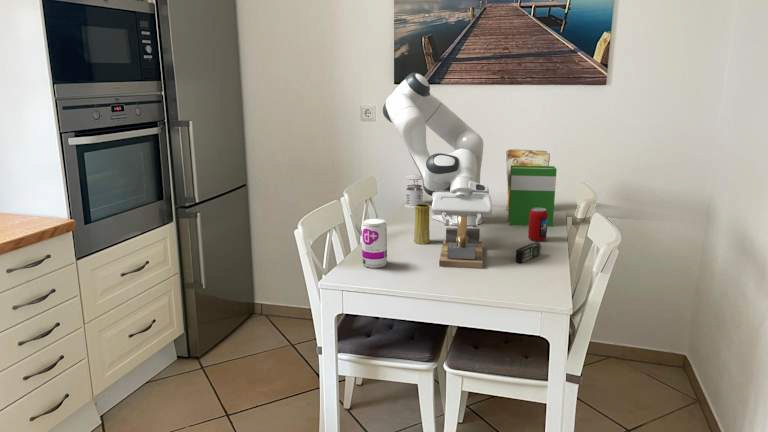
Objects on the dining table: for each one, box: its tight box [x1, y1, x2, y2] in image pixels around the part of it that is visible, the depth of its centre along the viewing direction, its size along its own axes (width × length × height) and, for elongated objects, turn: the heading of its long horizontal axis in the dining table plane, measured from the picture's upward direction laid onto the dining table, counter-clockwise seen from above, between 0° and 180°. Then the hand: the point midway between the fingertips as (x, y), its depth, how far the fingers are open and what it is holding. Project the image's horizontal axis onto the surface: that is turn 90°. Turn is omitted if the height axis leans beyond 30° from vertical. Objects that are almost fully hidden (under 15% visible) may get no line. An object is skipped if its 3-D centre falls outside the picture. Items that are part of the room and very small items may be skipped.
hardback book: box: [507, 165, 557, 227], centre depth 240 cm, size 18×7×24 cm, turn 82°
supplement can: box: [361, 217, 388, 269], centre depth 191 cm, size 8×8×15 cm
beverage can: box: [527, 208, 548, 242], centre depth 218 cm, size 7×7×12 cm
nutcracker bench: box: [438, 227, 483, 269], centre depth 200 cm, size 24×14×7 cm, turn 171°
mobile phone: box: [515, 241, 542, 264], centre depth 198 cm, size 5×3×15 cm
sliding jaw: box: [447, 215, 475, 259], centre depth 192 cm, size 6×9×14 cm, turn 81°
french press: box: [403, 161, 424, 209], centre depth 273 cm, size 10×12×25 cm
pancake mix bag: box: [505, 148, 551, 211], centre depth 261 cm, size 7×19×28 cm, turn 71°
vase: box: [413, 203, 431, 245], centre depth 216 cm, size 6×6×14 cm
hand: (460, 225), depth 191 cm, fingers open, 8 cm apart
